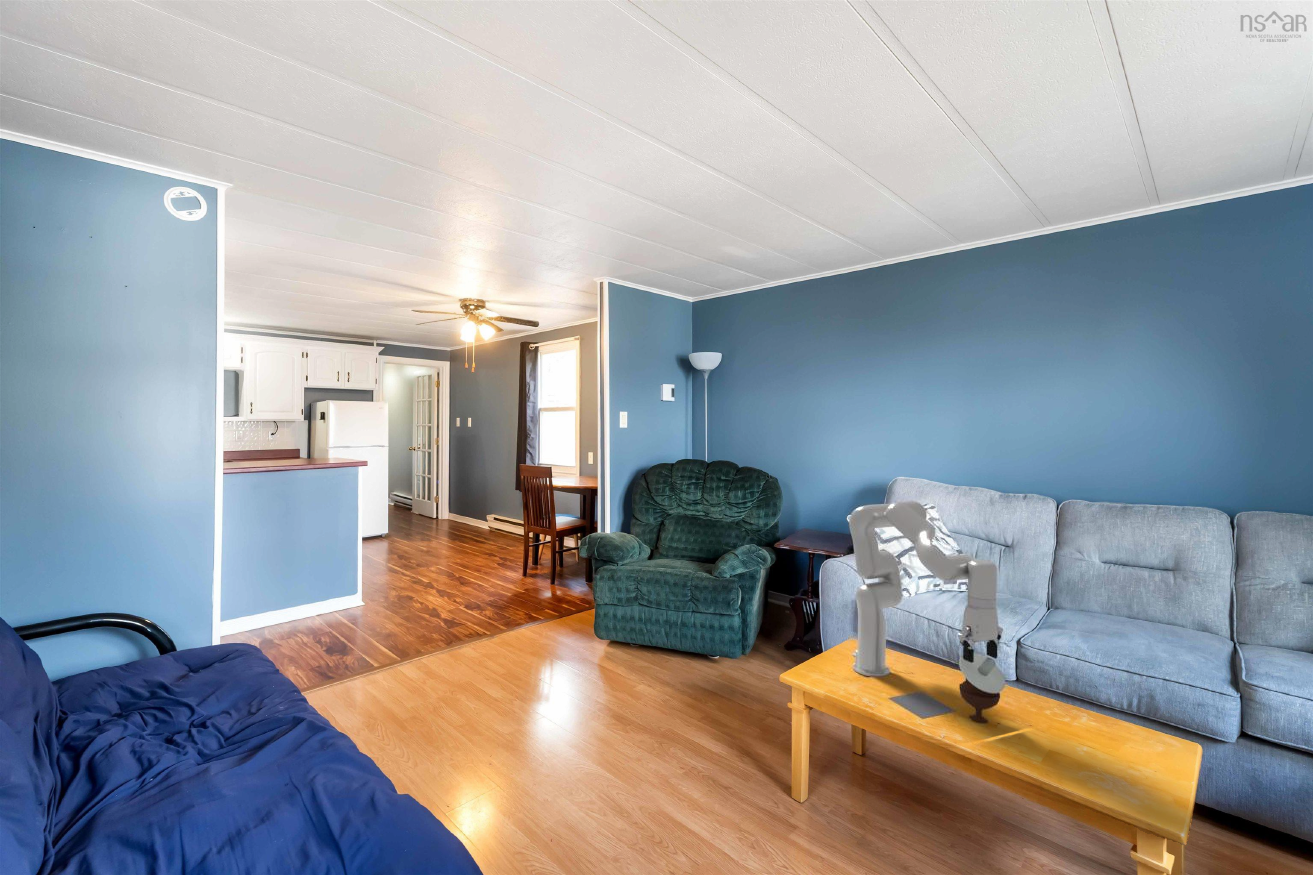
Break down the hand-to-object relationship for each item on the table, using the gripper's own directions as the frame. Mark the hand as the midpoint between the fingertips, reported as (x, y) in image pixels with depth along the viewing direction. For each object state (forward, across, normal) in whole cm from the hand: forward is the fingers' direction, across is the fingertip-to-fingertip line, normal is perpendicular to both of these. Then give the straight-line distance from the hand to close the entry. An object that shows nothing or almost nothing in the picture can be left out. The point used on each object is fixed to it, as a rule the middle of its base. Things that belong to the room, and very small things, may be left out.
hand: (980, 658), depth 173 cm
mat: (+19, +9, -13) cm, 25 cm away
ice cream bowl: (+19, 0, 0) cm, 19 cm away
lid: (+4, 0, +1) cm, 4 cm away
